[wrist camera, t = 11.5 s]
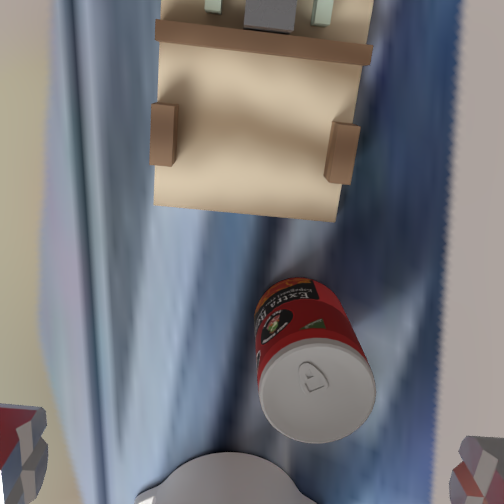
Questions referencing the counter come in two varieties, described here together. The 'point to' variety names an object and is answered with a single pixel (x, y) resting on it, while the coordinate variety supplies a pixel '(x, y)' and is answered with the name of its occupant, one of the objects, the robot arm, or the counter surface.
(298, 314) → the canned food
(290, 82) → the lock board
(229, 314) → the counter surface
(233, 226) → the counter surface
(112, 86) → the counter surface
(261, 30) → the bar
